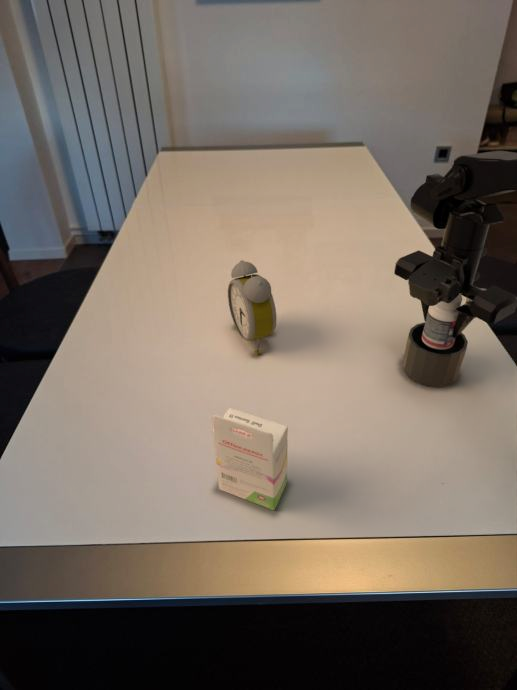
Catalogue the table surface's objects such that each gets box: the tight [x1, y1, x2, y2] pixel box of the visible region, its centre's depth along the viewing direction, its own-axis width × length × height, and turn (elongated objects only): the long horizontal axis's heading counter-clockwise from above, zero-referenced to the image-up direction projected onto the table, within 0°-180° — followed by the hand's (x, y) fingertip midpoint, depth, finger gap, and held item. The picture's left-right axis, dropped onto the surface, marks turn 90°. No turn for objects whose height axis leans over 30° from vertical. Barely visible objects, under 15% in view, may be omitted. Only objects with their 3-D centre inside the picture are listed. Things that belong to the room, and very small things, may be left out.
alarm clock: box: [227, 259, 277, 355], centre depth 91 cm, size 12×7×15 cm, turn 23°
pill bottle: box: [422, 295, 463, 350], centre depth 80 cm, size 5×5×9 cm
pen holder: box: [401, 321, 469, 389], centre depth 85 cm, size 9×9×7 cm
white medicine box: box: [212, 407, 289, 511], centre depth 64 cm, size 9×5×15 cm, turn 65°
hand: (440, 328), depth 82 cm, fingers closed on pill bottle, 5 cm apart
